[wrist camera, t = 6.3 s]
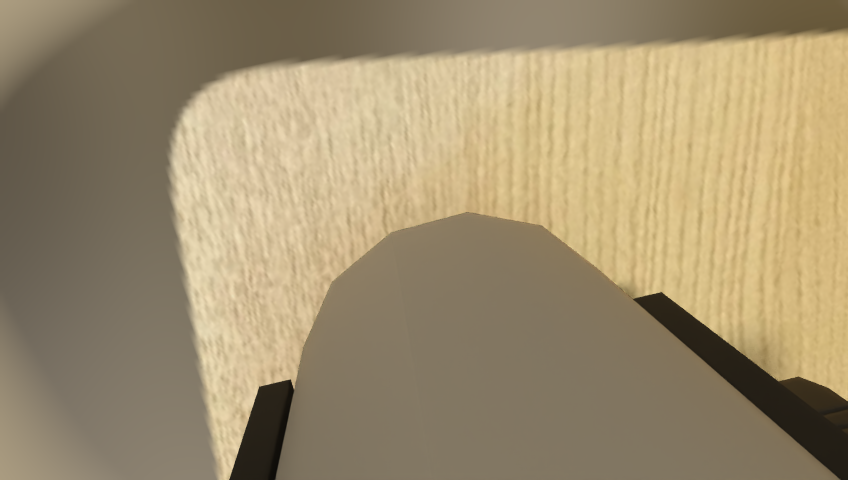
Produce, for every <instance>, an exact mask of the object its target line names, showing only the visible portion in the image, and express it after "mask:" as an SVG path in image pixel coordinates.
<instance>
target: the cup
mask: <svg viewBox="0 0 848 480" xmlns="http://www.w3.org/2000/svg"><path fill="white" fill-rule="evenodd" d="M275 480H840V479H839V478H838V477H837V476H835V475H834V474H833V473H832V472H831V471H830V470H829V469H827V468H826V467H825V466H824V465H823V464H822V463H820V462H819V461H818V460H817V459H816V458H815V457H814V456H812V455H811V454H810V453H809V452H808V451H807V450H806V449H804V448H803V447H802V446H801V445H800V444H799V443H797V442H796V441H795V440H794V439H793V438H792V437H791V436H789V435H788V434H787V433H786V432H785V431H784V430H783V429H781V428H780V427H779V426H778V425H777V424H776V423H774V422H773V421H772V420H771V419H770V418H769V417H768V416H766V415H765V414H764V413H763V412H762V411H761V410H760V409H758V408H757V407H756V406H755V405H754V404H753V403H751V402H750V401H749V400H748V399H747V398H746V397H745V396H743V395H742V394H741V393H740V392H739V391H738V390H737V389H735V388H734V387H733V386H732V385H731V384H730V383H728V382H727V381H726V380H725V379H724V378H723V377H722V376H720V375H719V374H718V373H717V372H716V371H715V370H714V369H712V368H711V367H710V366H709V365H708V364H707V363H705V362H704V361H703V360H702V359H701V358H700V357H699V356H697V355H696V354H695V353H694V352H693V351H692V350H691V349H689V348H688V347H687V346H686V345H685V344H684V343H682V342H681V341H680V340H679V339H678V338H677V337H676V336H674V335H673V334H672V333H671V332H670V331H669V330H668V329H666V328H665V327H664V326H663V325H662V324H661V323H659V322H658V321H657V320H656V319H655V318H654V317H653V316H651V315H650V314H649V313H648V312H647V311H646V310H645V309H643V308H642V307H641V306H640V305H639V304H638V303H636V302H635V301H634V300H633V299H632V298H631V297H630V296H628V295H627V294H626V293H625V292H624V291H623V290H622V289H620V288H619V287H618V286H617V285H616V284H615V283H613V282H612V281H611V280H610V279H609V278H608V277H607V276H605V275H604V274H603V273H602V272H601V271H600V270H598V269H597V268H596V267H595V266H594V265H592V264H591V263H590V262H588V261H587V260H586V259H584V258H583V257H582V256H580V255H579V254H578V253H577V252H575V251H574V250H573V249H571V248H570V247H569V246H567V245H566V244H565V243H564V242H562V241H561V240H560V239H558V238H557V237H556V236H554V235H553V234H552V233H551V232H549V231H548V230H547V229H545V228H544V227H543V226H540V225H535V224H529V223H524V222H518V221H513V220H507V219H502V218H496V217H491V216H485V215H480V214H475V213H469V212H466V213H463V214H459V215H455V216H451V217H448V218H444V219H440V220H436V221H433V222H429V223H425V224H421V225H418V226H414V227H410V228H406V229H402V230H399V231H395V232H391V233H390V234H389V235H388V236H386V237H385V238H384V239H383V240H382V241H380V242H379V243H378V244H377V245H376V246H374V247H373V248H372V249H371V250H370V251H368V252H367V253H366V254H365V255H364V256H362V257H361V258H360V259H359V260H358V261H356V262H355V263H354V264H353V265H352V266H351V267H349V268H348V269H347V270H346V271H345V272H343V273H342V274H341V275H340V276H339V277H337V278H336V279H335V280H334V281H333V282H332V283H331V286H330V288H329V290H328V292H327V295H326V297H325V299H324V301H323V304H322V306H321V308H320V311H319V313H318V315H317V317H316V320H315V322H314V324H313V326H312V329H311V331H310V333H309V336H308V338H307V340H306V342H305V345H304V347H303V351H302V356H301V361H300V365H299V370H298V375H297V380H296V384H295V389H294V394H293V398H292V403H291V408H290V413H289V417H288V422H287V427H286V432H285V436H284V441H283V446H282V450H281V455H280V460H279V465H278V469H277V474H276V479H275Z"/></svg>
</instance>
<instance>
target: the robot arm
mask: <svg viewBox="0 0 848 480" xmlns="http://www.w3.org/2000/svg"><path fill="white" fill-rule="evenodd" d="M633 300H634V301H635V302H636V303H638V304H639V305H640V306H641V307H642V308H643V309H645V310H646V311H647V312H648V313H649V314H650V315H651V316H653V317H654V318H655V319H656V320H657V321H658V322H659V323H661V324H662V325H663V326H664V327H665V328H666V329H668V330H669V331H670V332H671V333H672V334H673V335H674V336H676V337H677V338H678V339H679V340H680V341H681V342H682V343H684V344H685V345H686V346H687V347H688V348H689V349H691V350H692V351H693V352H694V353H695V354H696V355H697V356H699V357H700V358H701V359H702V360H703V361H704V362H705V363H707V364H708V365H709V366H710V367H711V368H712V369H714V370H715V371H716V372H717V373H718V374H719V375H720V376H722V377H723V378H724V379H725V380H726V381H727V382H728V383H730V384H731V385H732V386H733V387H734V388H735V389H737V390H738V391H739V392H740V393H741V394H742V395H743V396H745V397H746V398H747V399H748V400H749V401H750V402H751V403H753V404H754V405H755V406H756V407H757V408H758V409H760V410H761V411H762V412H763V413H764V414H765V415H766V416H768V417H769V418H770V419H771V420H772V421H773V422H774V423H776V424H777V425H778V426H779V427H780V428H781V429H783V430H784V431H785V432H786V433H787V434H788V435H789V436H791V437H792V438H793V439H794V440H795V441H796V442H797V443H799V444H800V445H801V446H802V447H803V448H804V449H806V450H807V451H808V452H809V453H810V454H811V455H812V456H814V457H815V458H816V459H817V460H818V461H819V462H820V463H822V464H823V465H824V466H825V467H826V468H827V469H829V470H830V471H831V472H832V473H833V474H834V475H835V476H837V477H838V478H839V479H840V480H848V401H846V400H845V399H843V398H842V397H840V396H839V395H838V394H836V393H835V392H833V391H832V390H830V389H829V388H827V387H824V386H822V385H819V384H816V383H814V382H811V381H808V380H806V379H803V378H801V377H795V378H791V379H787V380H783V381H779V382H778V381H777V380H776V379H774V378H773V377H772V376H770V375H769V374H768V373H766V372H765V371H764V370H763V369H761V368H760V367H759V366H757V365H756V364H755V363H753V362H752V361H751V360H749V359H748V358H747V357H746V356H744V355H743V354H742V353H740V352H739V351H738V350H736V349H735V348H734V347H732V346H731V345H730V344H729V343H727V342H726V341H725V340H723V339H722V338H721V337H719V336H718V335H717V334H715V333H714V332H713V331H711V330H710V329H709V328H708V327H706V326H705V325H704V324H702V323H701V322H700V321H698V320H697V319H696V318H694V317H693V316H692V315H691V314H689V313H688V312H687V311H685V310H684V309H683V308H681V307H680V306H679V305H677V304H676V303H675V302H673V301H672V300H671V299H670V298H668V297H667V296H666V295H664V294H663V293H662V292H660V293H656V294H652V295H648V296H643V297H639V298H635V299H633ZM293 394H294V389H293V385H292V382H291V379H290V380H286V381H282V382H278V383H273V384H269V385H265V386H261V387H259V389H258V393H257V396H256V399H255V402H254V405H253V408H252V411H251V414H250V417H249V420H248V424H247V427H246V430H245V433H244V436H243V439H242V442H241V445H240V448H239V451H238V455H237V458H236V461H235V464H234V467H233V470H232V473H231V476H230V479H229V480H275V479H276V474H277V469H278V465H279V460H280V455H281V450H282V446H283V441H284V436H285V432H286V427H287V422H288V417H289V413H290V408H291V403H292V398H293Z"/></svg>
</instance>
